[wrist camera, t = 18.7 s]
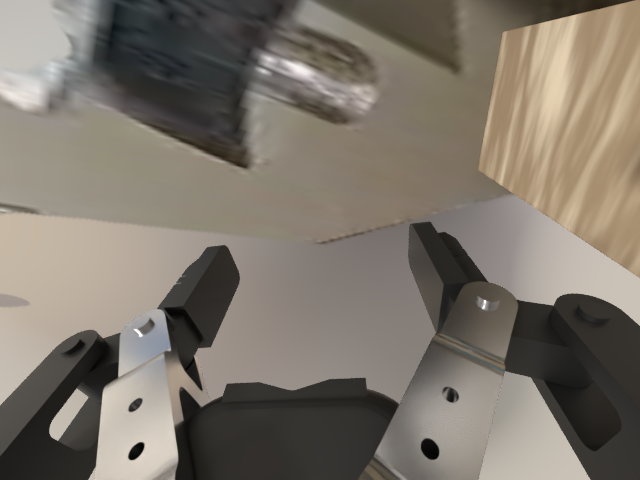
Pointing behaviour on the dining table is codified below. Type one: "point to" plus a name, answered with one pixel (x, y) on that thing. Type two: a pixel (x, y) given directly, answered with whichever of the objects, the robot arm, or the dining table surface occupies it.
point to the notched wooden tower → (572, 125)
